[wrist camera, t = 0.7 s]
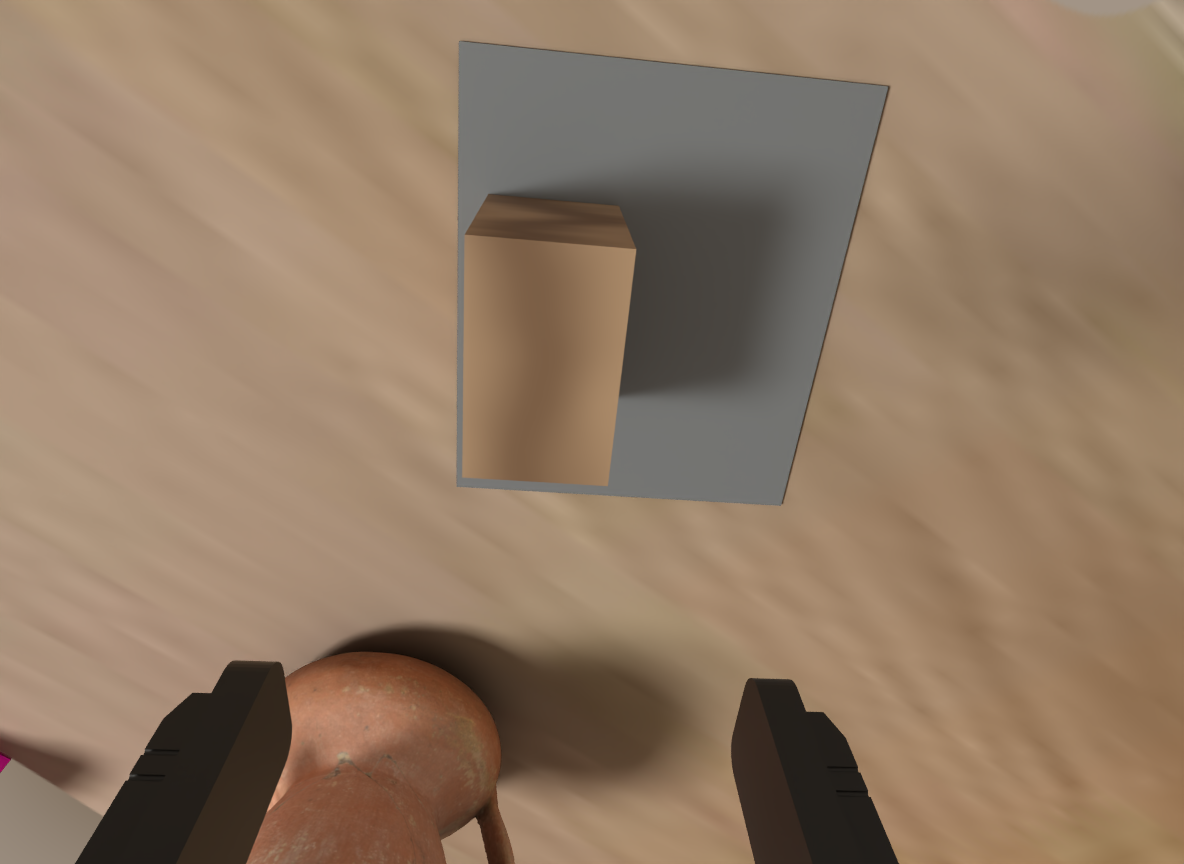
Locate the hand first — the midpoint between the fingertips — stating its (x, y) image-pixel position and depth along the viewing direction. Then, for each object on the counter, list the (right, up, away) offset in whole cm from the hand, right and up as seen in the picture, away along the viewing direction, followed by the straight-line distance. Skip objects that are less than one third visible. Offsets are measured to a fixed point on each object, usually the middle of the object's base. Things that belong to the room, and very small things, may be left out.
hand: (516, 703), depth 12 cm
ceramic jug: (-11, -13, +32) cm, 36 cm away
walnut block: (-1, +11, +19) cm, 22 cm away
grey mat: (+4, +10, +20) cm, 23 cm away
